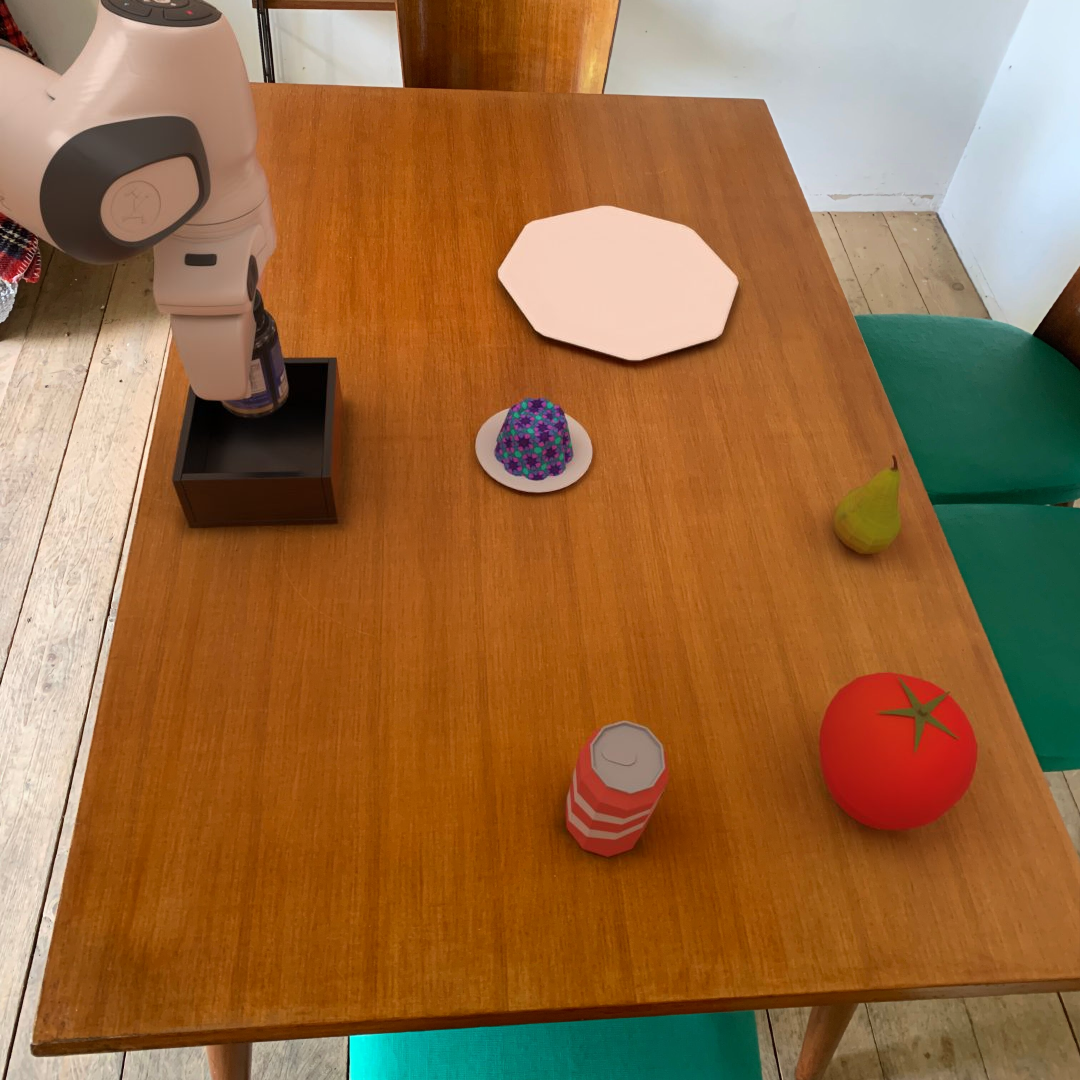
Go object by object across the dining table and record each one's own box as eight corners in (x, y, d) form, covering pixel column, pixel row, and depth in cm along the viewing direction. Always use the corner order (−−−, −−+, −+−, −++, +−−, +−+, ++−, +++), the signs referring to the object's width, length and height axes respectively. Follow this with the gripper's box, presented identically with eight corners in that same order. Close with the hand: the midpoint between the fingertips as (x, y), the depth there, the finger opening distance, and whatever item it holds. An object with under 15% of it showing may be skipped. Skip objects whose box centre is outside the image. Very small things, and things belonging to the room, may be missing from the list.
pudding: (508, 395, 99) (510, 358, 95) (609, 436, 96) (617, 400, 92) (453, 468, 92) (453, 432, 88) (561, 514, 90) (566, 479, 85)
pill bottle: (256, 364, 86) (234, 265, 77) (304, 393, 84) (287, 296, 75) (205, 400, 83) (176, 301, 74) (254, 431, 81) (230, 334, 72)
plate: (703, 390, 102) (706, 380, 100) (470, 324, 105) (471, 313, 104) (749, 252, 118) (752, 242, 117) (546, 198, 122) (547, 188, 120)
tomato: (950, 850, 72) (1031, 787, 62) (817, 857, 71) (879, 795, 61) (904, 718, 79) (971, 643, 69) (783, 723, 78) (833, 647, 68)
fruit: (897, 563, 89) (950, 483, 80) (837, 568, 88) (884, 488, 79) (872, 511, 93) (920, 429, 83) (815, 516, 92) (857, 434, 82)
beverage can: (575, 771, 74) (593, 703, 64) (651, 795, 73) (682, 730, 64) (554, 842, 70) (570, 782, 61) (634, 869, 70) (664, 812, 60)
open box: (189, 527, 85) (171, 480, 80) (208, 407, 94) (194, 357, 89) (338, 523, 87) (330, 476, 81) (343, 406, 96) (336, 356, 91)
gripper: (189, 147, 75) (223, 286, 86) (148, 311, 63) (193, 448, 74) (269, 149, 76) (292, 286, 87) (243, 311, 63) (274, 447, 74)
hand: (246, 362), depth 80 cm, fingers closed on pill bottle, 6 cm apart
